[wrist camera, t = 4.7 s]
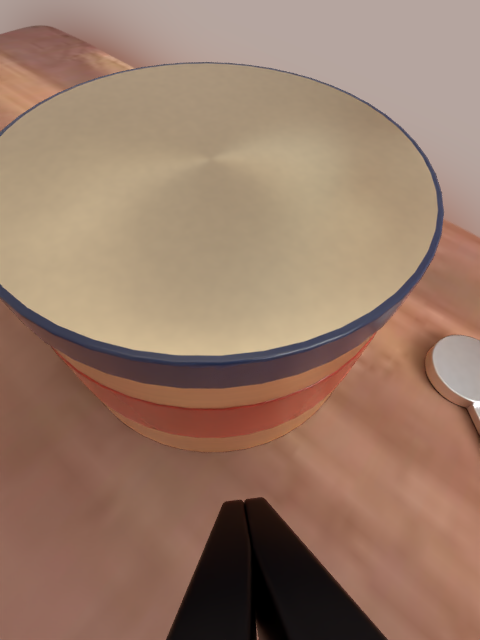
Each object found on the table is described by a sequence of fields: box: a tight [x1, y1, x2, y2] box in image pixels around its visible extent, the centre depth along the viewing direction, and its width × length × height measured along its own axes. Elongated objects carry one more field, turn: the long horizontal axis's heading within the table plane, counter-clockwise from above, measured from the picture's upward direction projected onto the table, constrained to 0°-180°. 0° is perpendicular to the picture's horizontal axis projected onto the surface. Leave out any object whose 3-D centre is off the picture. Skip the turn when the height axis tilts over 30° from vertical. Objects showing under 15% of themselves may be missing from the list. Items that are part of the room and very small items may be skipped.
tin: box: [0, 62, 444, 452], centre depth 15 cm, size 14×14×9 cm
